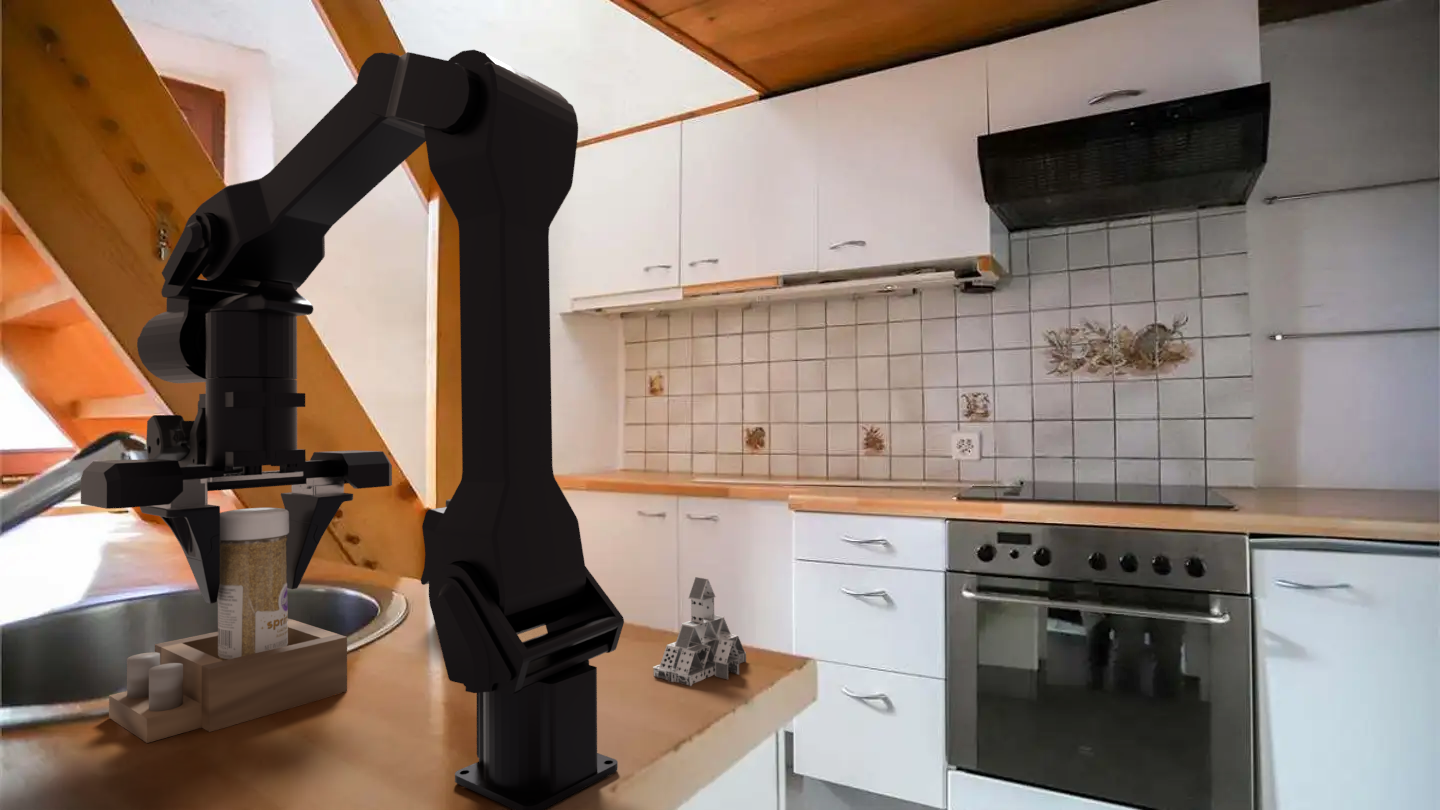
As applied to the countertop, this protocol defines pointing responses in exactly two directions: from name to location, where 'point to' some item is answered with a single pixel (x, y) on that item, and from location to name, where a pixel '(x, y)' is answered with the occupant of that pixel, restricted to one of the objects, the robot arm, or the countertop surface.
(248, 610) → the sprinkles bottle
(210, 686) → the slot block
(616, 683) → the countertop surface
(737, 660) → the house of cards
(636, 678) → the countertop surface
